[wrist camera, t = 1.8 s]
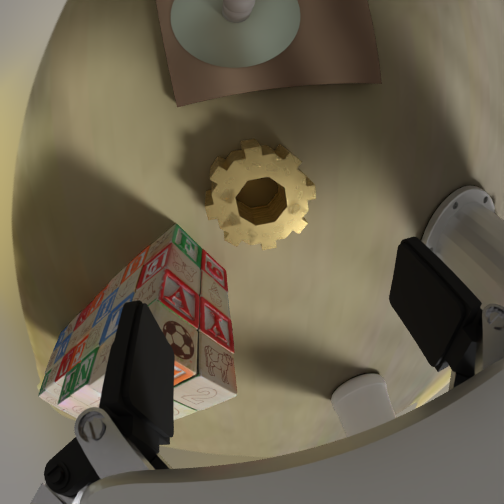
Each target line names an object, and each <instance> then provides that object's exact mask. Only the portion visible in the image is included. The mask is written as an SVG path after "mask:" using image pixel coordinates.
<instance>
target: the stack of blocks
mask: <svg viewBox="0 0 504 504" xmlns="http://www.w3.org/2000/svg"><path fill="white" fill-rule="evenodd" d="M227 293H228V286H227V274H226V270H225V269H224V268H223V267H222V266H220V265H219V264H218V263H217V262H216V261H215V260H214V259H213V258H212V257H211V256H210V255H209V254H208V253H207V252H206V251H205V250H204V249H202V248H201V247H200V246H199V245H198V244H197V243H196V242H195V241H194V240H193V239H192V238H191V237H190V236H189V235H188V234H187V233H186V232H185V231H184V230H183V229H182V228H181V227H180V226H179V225H178V224H175V225H173V226H172V227H171V228H170V229H169V230H168V231H166V232H165V233H164V234H163V235H162V236H161V237H159V238H158V239H157V240H156V241H155V242H154V243H152V244H151V245H149V246H148V247H147V248H145V249H144V250H143V251H142V252H141V253H140V254H139V255H138V256H137V257H135V258H134V259H133V260H132V261H131V262H130V263H129V264H128V265H127V266H126V267H125V268H123V269H122V270H121V271H120V272H119V273H118V274H117V275H116V276H115V277H114V278H113V279H112V280H111V281H110V282H109V284H108V285H107V286H106V287H105V288H104V289H103V290H102V291H101V292H100V293H99V294H98V295H97V296H96V297H95V299H94V300H93V301H92V302H91V303H90V304H89V305H88V306H87V307H86V308H85V309H84V310H83V311H82V312H80V313H79V314H78V315H77V316H76V317H75V318H74V319H73V320H72V321H71V322H70V323H69V325H68V326H67V327H66V328H65V329H64V330H63V331H62V332H61V334H60V336H59V338H58V341H57V343H56V345H55V348H54V350H53V353H52V355H51V357H50V360H49V363H48V365H47V368H46V371H45V374H46V375H45V377H44V380H43V383H42V386H41V389H40V392H39V395H38V396H39V397H40V398H42V399H43V400H45V401H46V402H48V403H50V404H51V405H53V406H55V407H56V408H58V409H60V410H63V411H64V412H66V413H68V414H70V415H71V416H73V417H75V418H78V416H79V415H80V414H81V413H82V412H83V411H84V410H86V409H88V408H92V407H98V408H99V404H100V398H101V392H102V387H103V382H104V377H105V372H106V367H107V363H108V358H109V354H110V349H111V346H112V343H113V342H114V340H115V335H116V331H117V327H118V324H119V320H120V316H121V312H122V309H123V305H124V304H125V303H127V302H132V301H137V300H140V301H141V302H142V303H146V304H147V305H148V307H149V309H150V310H151V312H152V314H153V316H154V318H155V320H156V321H157V323H158V325H159V327H160V328H161V330H162V332H163V334H164V335H165V337H166V339H167V340H168V342H169V344H170V345H171V347H172V349H173V351H174V355H175V365H174V420H175V419H178V418H181V417H184V416H186V415H189V414H192V413H194V412H196V411H197V410H204V409H207V408H209V407H212V406H214V405H216V404H219V403H221V402H224V401H226V400H229V399H231V398H234V397H235V396H237V386H236V377H235V368H234V360H233V354H234V341H233V333H232V331H233V329H232V323H231V320H230V312H229V302H228V294H227Z"/></svg>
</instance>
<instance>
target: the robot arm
mask: <svg viewBox="0 0 504 504" xmlns="http://www.w3.org/2000/svg"><path fill="white" fill-rule="evenodd" d="M389 300H390V304H391V306H392V307H393V308H394V310H395V311H396V313H397V314H398V316H399V317H400V319H401V320H402V322H403V323H404V325H405V326H406V328H407V329H408V331H409V332H410V334H411V335H412V337H413V338H414V340H415V341H416V343H417V344H418V346H419V348H420V349H421V351H422V352H423V354H424V356H425V357H426V359H427V360H428V362H429V364H430V365H431V366H433V367H435V368H436V370H437V371H438V372H439V371H441V370H443V369H444V368H446V367H448V366H450V367H451V369H452V371H451V378H450V385H449V391H448V392H446V393H444V394H443V395H441V396H439V397H437V398H435V399H434V400H432V401H430V402H428V403H426V404H424V405H422V406H420V407H418V408H416V409H414V410H412V411H410V412H408V413H406V414H404V415H402V416H400V417H397V418H395V419H393V420H391V421H388V422H386V423H384V424H381V425H379V426H376V427H374V428H371V429H369V430H366V431H363V432H361V433H358V434H355V435H352V436H350V437H347V438H344V439H341V440H338V441H335V442H331V443H328V444H325V445H321V446H318V447H314V448H311V449H307V450H303V451H299V452H295V453H291V454H286V455H282V456H277V457H272V458H267V459H262V460H256V461H250V462H244V463H236V464H228V465H219V466H210V467H198V468H185V469H173V468H172V467H171V466H170V465H169V464H168V463H167V462H166V461H165V460H164V459H163V457H162V456H161V455H160V454H159V445H167V444H170V437H173V434H174V365H175V355H174V351H173V349H172V347H171V345H170V344H169V342H168V340H167V339H166V337H165V335H164V334H163V332H162V330H161V328H160V327H159V325H158V323H157V321H156V320H155V318H154V316H153V314H152V312H151V310H150V309H149V307H148V305H147V304H146V303H142V302H141V301H140V300H137V301H132V302H127V303H125V304H124V305H123V309H122V312H121V316H120V320H119V324H118V327H117V331H116V335H115V340H114V342H113V343H112V346H111V349H110V354H109V358H108V363H107V367H106V372H105V377H104V382H103V387H102V392H101V398H100V404H99V408H98V407H92V408H88V409H86V410H84V411H83V412H82V413H81V414H80V415H79V416H78V418H77V420H76V423H75V435H76V437H75V438H74V439H73V440H72V441H71V442H70V443H69V444H67V445H66V446H65V447H64V448H63V449H62V450H61V451H60V452H58V453H57V454H56V455H55V456H54V457H53V458H52V459H51V460H49V462H48V463H47V464H46V467H45V471H44V476H45V480H46V484H44V483H42V484H41V486H40V487H39V489H38V491H37V493H36V494H35V496H34V498H33V500H32V502H31V504H504V220H503V219H502V218H500V217H499V216H497V215H496V214H495V210H494V204H493V201H492V199H491V197H490V196H489V194H488V193H487V192H486V191H484V190H483V189H481V188H479V187H477V186H472V185H471V186H464V187H462V188H460V189H457V190H456V191H455V192H453V193H452V194H450V195H449V196H448V197H447V198H446V199H445V200H444V201H443V202H442V203H441V204H440V206H439V207H438V208H437V210H436V211H435V213H434V214H433V216H432V217H431V219H430V221H429V223H428V225H427V227H426V229H425V232H424V235H423V237H422V240H420V239H418V238H417V237H411V238H407V239H404V240H402V241H401V244H400V245H399V246H398V250H397V256H396V263H395V269H394V275H393V280H392V285H391V291H390V295H389Z"/></svg>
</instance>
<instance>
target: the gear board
mask: <svg viewBox="0 0 504 504" xmlns="http://www.w3.org/2000/svg"><path fill="white" fill-rule="evenodd" d="M156 5H157V11H158V17H159V22H160V27H161V33H162V38H163V43H164V48H165V53H166V58H167V63H168V68H169V72H170V77H171V82H172V86H173V91H174V95H175V100H176V104H177V107H181V106H184V105H188V104H192V103H197V102H201V101H205V100H210V99H214V98H219V97H224V96H229V95H235V94H240V93H246V92H253V91H259V90H266V89H274V88H283V87H292V86H303V85H318V84H341V83H374V84H382V82H381V73H380V65H379V58H378V52H377V45H376V40H375V34H374V29H373V24H372V19H371V14H370V10H369V6H368V1H367V0H156Z"/></svg>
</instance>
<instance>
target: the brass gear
mask: <svg viewBox="0 0 504 504" xmlns="http://www.w3.org/2000/svg"><path fill="white" fill-rule="evenodd" d="M240 142H241V148H242V149H241V150H236V151H231V153H230V154H229V156H228V157H227V158H226V160H225V159H223V158H221V157H220V156H218V157H217V158H216V160H215V161H214V163H213V164H212V166H211V168H210V180H212V190H208V191H206V199H205V209H206V213H207V217H208V220H212V219H217V218H218V222H219V226H220V229H222V230H224V238H225V241H227V242H229V243H231V244H233V245H234V246H236V247H237V246H238V245H239V243H240V242H241V241H244V242H246V243H248V244H249V245H254V244H259V243H261V246H262V250H266V249H271V248H276V240H279V239H284V238H286V237H287V236H288V235H289V234H290V232H291V231H292V230H293V231H295V232H297V233H298V234H299V233H300V232H301V231H302V230H303V229H304V227H305V226H306V225H307V224H308V222H307V221H306V219H305V218H304V215H305V214H306V213H307V212H308V200H313V199H316V191H315V185H314V183H313V182H312V181H311V180H310V179H309V178H308V177H307V176H306V175H305V174H304V173H303V172H301V171H300V170H299V169H298V166H299V165H300V164H301V163H302V161H301V160H299V159H298V158H297V157H296V156H295V155H294V154H292V153H291V152H290V151H288V150H287V149H286V148H284V147H283V146H282V145H280V144H279V146H278V147H277V148H276V149H275V151H274V150H273V149H271V148H270V147H269V146H267V145H263V146H260V145H259V144H258V142H257V141H256V140H255V139H250V140H244V141H240ZM264 177H270V178H271V179H273V180H274V181H276V182H277V186H278V192H277V193H276V195H275V196H274V197H273V199H272V200H271V201H270V202H269V204H268V205H264V206H258V207H253V208H250V207H248V206H246V205H245V204H243V203H241V202H240V201H238V200H236V196H237V194H238V193H239V192H240V190H241V189H242V187H243V186H244V185H245V183H246V182H247V181H248V180H253V179H259V178H264Z"/></svg>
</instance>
